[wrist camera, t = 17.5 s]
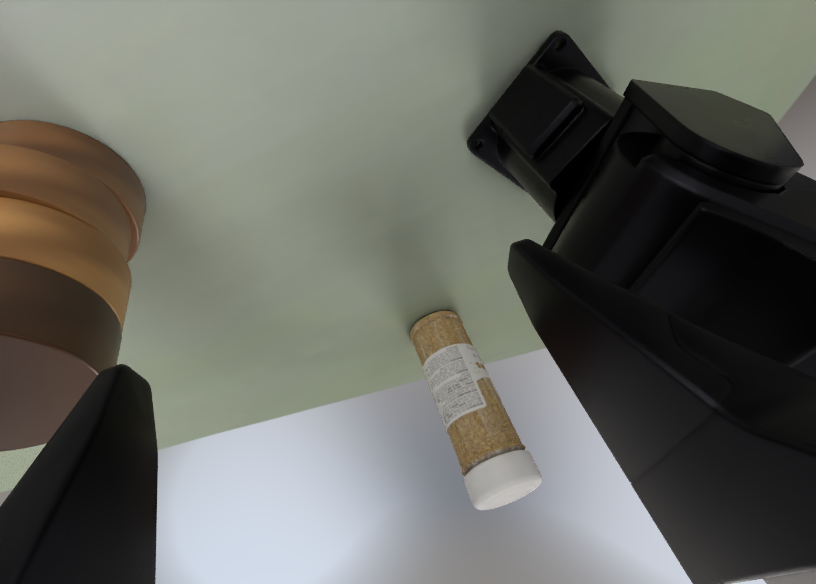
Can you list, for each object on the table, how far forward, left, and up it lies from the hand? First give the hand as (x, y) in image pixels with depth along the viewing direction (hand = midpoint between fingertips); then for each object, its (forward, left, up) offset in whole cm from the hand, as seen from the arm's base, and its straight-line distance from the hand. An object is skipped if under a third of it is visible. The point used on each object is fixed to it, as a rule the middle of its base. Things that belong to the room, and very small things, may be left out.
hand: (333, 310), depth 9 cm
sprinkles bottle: (-18, +10, -12) cm, 24 cm away
